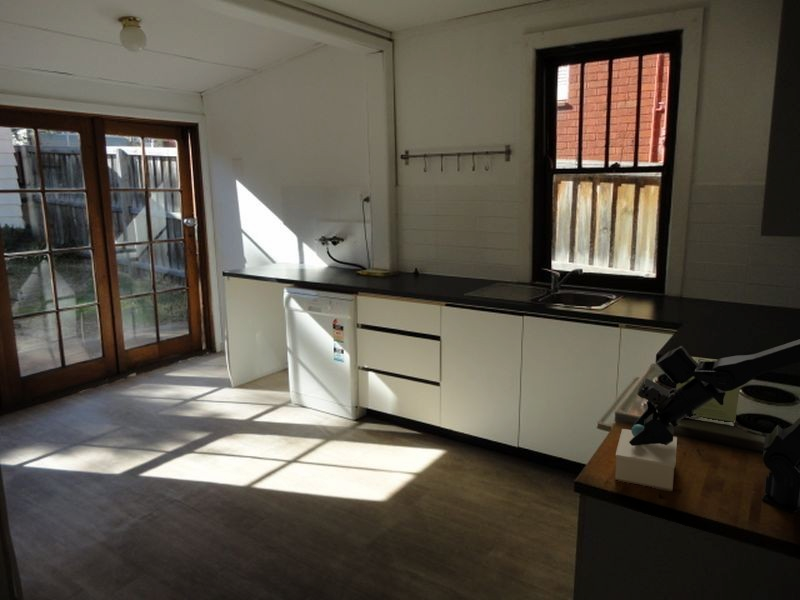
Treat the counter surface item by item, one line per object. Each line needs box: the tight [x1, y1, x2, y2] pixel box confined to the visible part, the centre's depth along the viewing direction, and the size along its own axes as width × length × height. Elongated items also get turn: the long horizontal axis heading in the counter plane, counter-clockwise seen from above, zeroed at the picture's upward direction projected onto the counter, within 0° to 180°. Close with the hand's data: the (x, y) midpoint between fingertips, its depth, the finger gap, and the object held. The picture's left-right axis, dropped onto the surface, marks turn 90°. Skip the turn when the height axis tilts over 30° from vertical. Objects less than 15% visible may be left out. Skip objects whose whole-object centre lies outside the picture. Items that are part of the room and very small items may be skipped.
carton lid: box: [615, 424, 678, 468], centre depth 136 cm, size 12×14×6 cm
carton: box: [614, 457, 675, 492], centre depth 138 cm, size 12×14×6 cm
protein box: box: [675, 356, 740, 422], centre depth 165 cm, size 10×16×16 cm
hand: (632, 435), depth 138 cm, fingers open, 9 cm apart
